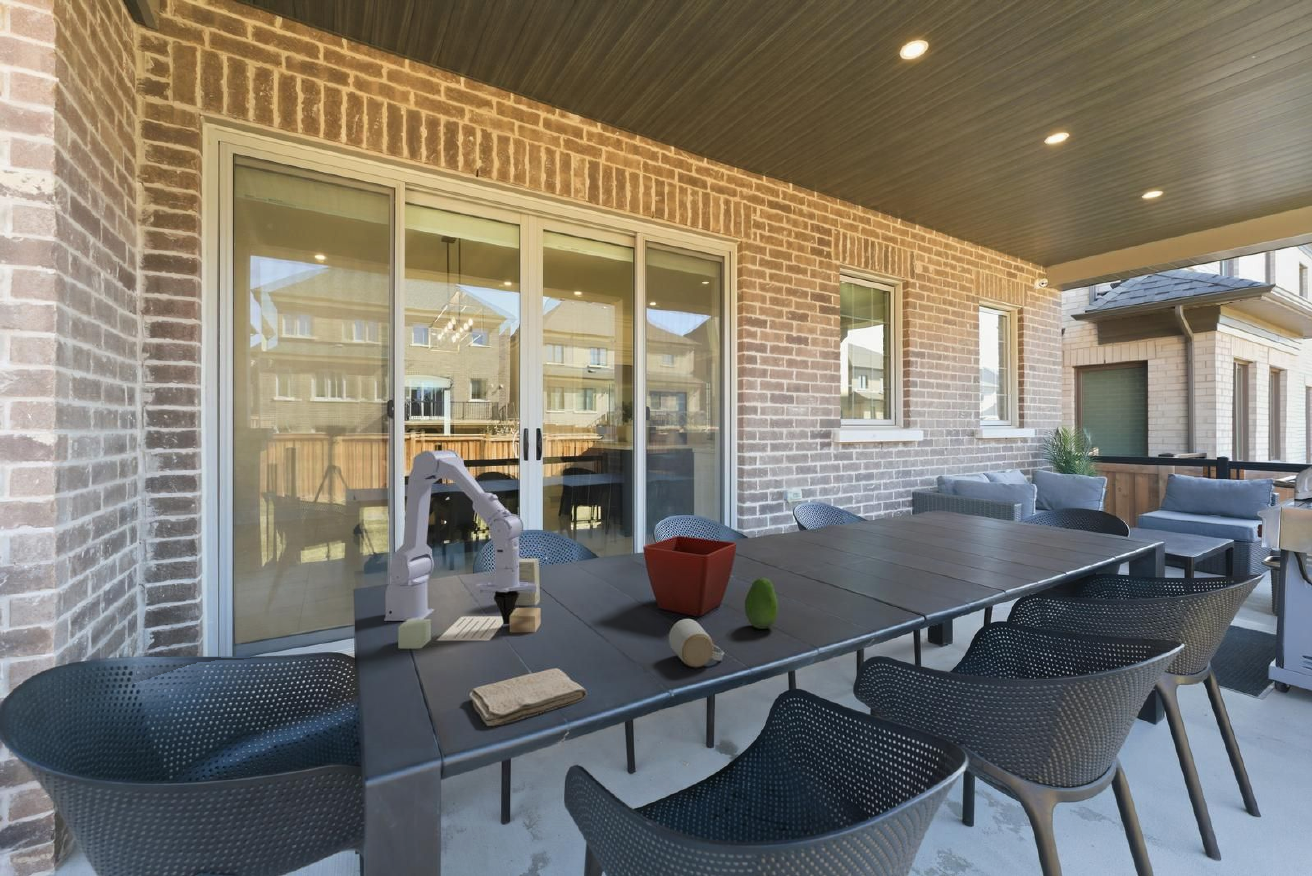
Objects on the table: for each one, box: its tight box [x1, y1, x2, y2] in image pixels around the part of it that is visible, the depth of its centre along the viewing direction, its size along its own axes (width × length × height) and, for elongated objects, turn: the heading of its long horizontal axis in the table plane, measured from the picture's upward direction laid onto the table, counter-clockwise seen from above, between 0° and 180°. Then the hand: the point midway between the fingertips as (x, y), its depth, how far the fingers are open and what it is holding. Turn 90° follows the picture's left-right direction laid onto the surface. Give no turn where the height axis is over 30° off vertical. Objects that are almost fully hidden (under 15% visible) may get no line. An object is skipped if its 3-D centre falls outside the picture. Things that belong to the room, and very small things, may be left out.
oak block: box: [509, 607, 542, 633], centre depth 133 cm, size 6×6×4 cm
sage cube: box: [397, 618, 432, 649], centre depth 123 cm, size 5×5×5 cm
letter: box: [436, 615, 504, 642], centre depth 133 cm, size 12×16×1 cm
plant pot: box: [642, 535, 737, 617], centre depth 149 cm, size 19×19×17 cm
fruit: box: [744, 577, 779, 630], centre depth 133 cm, size 8×8×12 cm
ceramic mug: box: [668, 618, 725, 668], centre depth 114 cm, size 11×8×8 cm
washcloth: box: [468, 668, 588, 727], centre depth 98 cm, size 12×18×3 cm, turn 125°
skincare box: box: [515, 557, 541, 607], centre depth 152 cm, size 6×4×12 cm
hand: (507, 622), depth 133 cm, fingers closed
